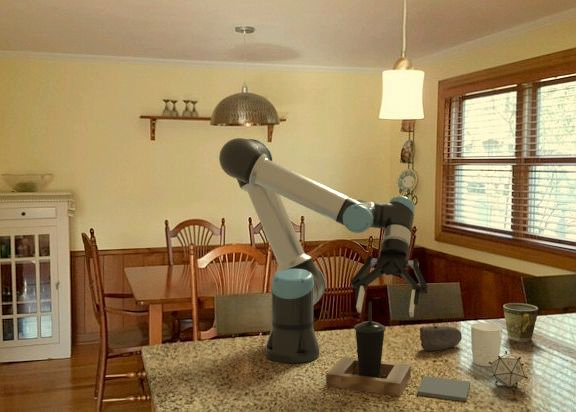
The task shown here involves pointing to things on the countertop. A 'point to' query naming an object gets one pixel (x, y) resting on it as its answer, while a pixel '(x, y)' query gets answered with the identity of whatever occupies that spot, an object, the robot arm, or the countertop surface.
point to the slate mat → (444, 388)
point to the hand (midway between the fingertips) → (384, 312)
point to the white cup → (485, 343)
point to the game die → (508, 370)
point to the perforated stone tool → (439, 337)
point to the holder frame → (391, 385)
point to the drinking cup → (369, 346)
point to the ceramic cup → (520, 321)
